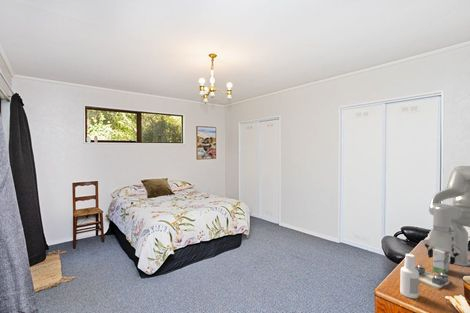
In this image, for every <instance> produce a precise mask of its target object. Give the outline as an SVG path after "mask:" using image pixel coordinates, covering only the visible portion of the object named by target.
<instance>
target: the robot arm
mask: <svg viewBox="0 0 470 313" xmlns="http://www.w3.org/2000/svg"><path fill="white" fill-rule="evenodd" d="M448 199H453V200H452V205H451V204H446V203H441V202H442V201H443V202H444V200H445V201H446V200H448ZM428 212H429V214H430V215H432V216H433V219H432V220H433V221H432V223H433V225H432V227H433V228H432V230H431V231H430V234H429V235H430V236H429V238H428V239H423V240H422V242H423V244H424V246H425V248H426V249H427V255H428V258H430V259H431V258H433V250H434V249H438V250H441V251H445V252H449V265H456V266H462V267H469V266H470V260H469V259H468V251H469V232H468V231H467V229H466V228H467V227H468V228H470V165H459V166H455V167H454V168H453V170H452V171H451V173H450V175H449V178H448V182H447V184H446V186H445V188H444V189H442V190H440V191H438V192H437V193H436V194H435V195H433V197H432V199H431V200H430V203H429V207H428ZM465 227H466V228H465ZM428 242H429V244H428Z"/></svg>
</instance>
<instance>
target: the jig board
mask: <svg viewBox="0 0 470 313" xmlns="http://www.w3.org/2000/svg"><path fill="white" fill-rule="evenodd" d="M437 275H438V274H435V273H432V272H429V271H427V270H425V273H423V274H421V275H419V284H424V285H425V286H428V287H431V288H434V289H436V290H440V289H441V288H443V287H445V286H447V285H449V284H452V280H451V279H449V278H448V282H446V283H444V284H442V285H440V286H439V285H436V284H434V283H432V278H433V277H434V276H437Z"/></svg>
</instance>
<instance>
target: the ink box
mask: <svg viewBox="0 0 470 313" xmlns="http://www.w3.org/2000/svg"><path fill="white" fill-rule="evenodd" d="M432 250H433V257H432V258H433V259H432V260H433V262H432V265H433V266H432V271H433V272H435V273H439V274H440V273H445V274H447V272H448V271H449V270H450V263H449V252H445V251H441V250H438V249H435V248H433V249H432Z"/></svg>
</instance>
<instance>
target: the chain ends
mask: <svg viewBox="0 0 470 313" xmlns="http://www.w3.org/2000/svg"><path fill="white" fill-rule="evenodd" d="M415 269H416V270H417V271H418V272H419V275H421V274H423V273H425V271H426V267H424V265H421V264H417V265H416V266H415ZM436 275H437V276H434V277H433V278H432V283H434V284H436V285H439V286H440V285H442V284H444V283H446V282H448V279H449V276H448V275H447V273H439V274H436Z"/></svg>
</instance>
